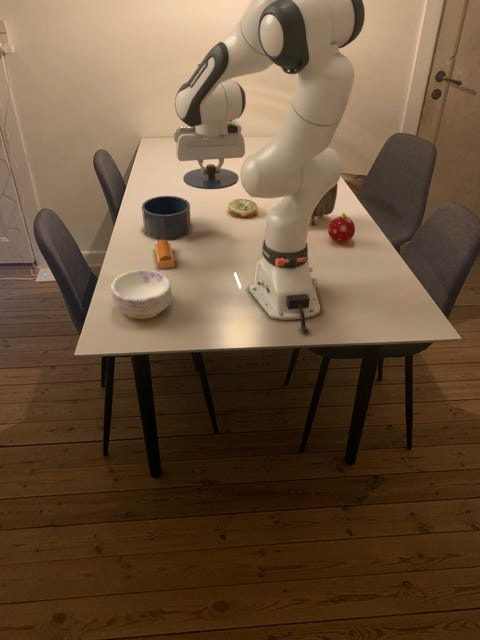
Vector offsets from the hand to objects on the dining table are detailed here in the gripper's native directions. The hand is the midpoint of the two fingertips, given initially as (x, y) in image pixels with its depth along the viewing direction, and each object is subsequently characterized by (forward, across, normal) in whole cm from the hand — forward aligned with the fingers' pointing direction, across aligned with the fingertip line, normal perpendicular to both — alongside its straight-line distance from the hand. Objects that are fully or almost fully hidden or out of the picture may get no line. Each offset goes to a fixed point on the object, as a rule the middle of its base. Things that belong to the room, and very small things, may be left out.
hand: (211, 173), depth 146 cm
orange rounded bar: (+22, -17, -9) cm, 29 cm away
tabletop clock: (+23, +36, +7) cm, 43 cm away
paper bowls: (+23, -25, -34) cm, 48 cm away
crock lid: (+2, 0, 0) cm, 2 cm away
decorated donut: (+22, +14, +19) cm, 33 cm away
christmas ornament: (+23, +41, -8) cm, 48 cm away
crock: (+22, -14, +11) cm, 28 cm away
